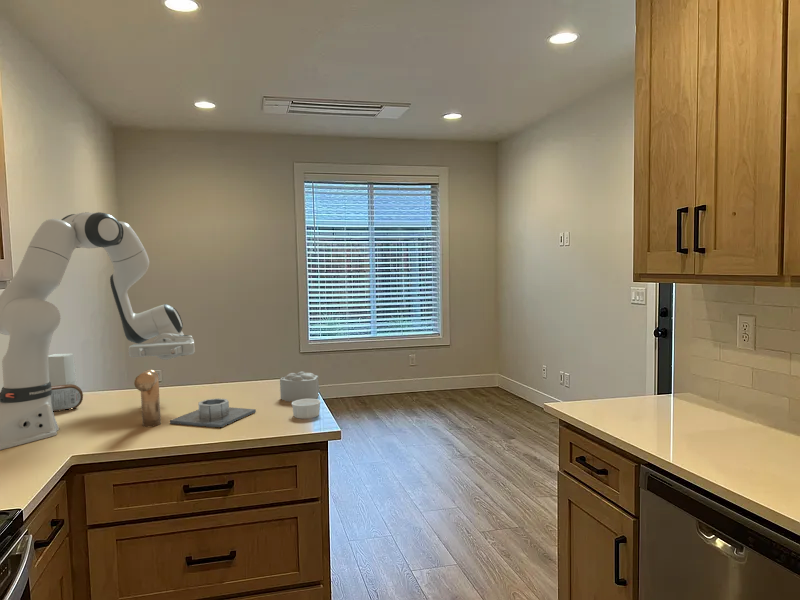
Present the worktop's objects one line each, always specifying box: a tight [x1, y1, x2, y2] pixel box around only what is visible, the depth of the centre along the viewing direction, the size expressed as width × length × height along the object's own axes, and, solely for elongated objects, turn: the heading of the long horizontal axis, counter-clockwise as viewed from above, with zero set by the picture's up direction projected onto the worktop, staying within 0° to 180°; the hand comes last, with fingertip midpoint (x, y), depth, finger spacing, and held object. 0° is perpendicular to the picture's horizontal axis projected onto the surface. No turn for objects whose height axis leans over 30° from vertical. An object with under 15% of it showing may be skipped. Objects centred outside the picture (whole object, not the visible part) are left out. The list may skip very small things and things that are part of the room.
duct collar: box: [169, 398, 257, 428], centre depth 181 cm, size 18×18×5 cm
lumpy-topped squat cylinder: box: [279, 371, 320, 403], centre depth 204 cm, size 10×13×9 cm
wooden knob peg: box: [133, 369, 162, 428], centre depth 172 cm, size 10×5×16 cm, turn 11°
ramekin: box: [290, 398, 321, 420], centre depth 181 cm, size 9×9×4 cm
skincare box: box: [48, 353, 78, 386], centre depth 214 cm, size 8×7×16 cm
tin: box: [51, 384, 84, 412], centre depth 194 cm, size 15×3×8 cm, turn 123°
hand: (157, 352), depth 186 cm, fingers open, 8 cm apart
